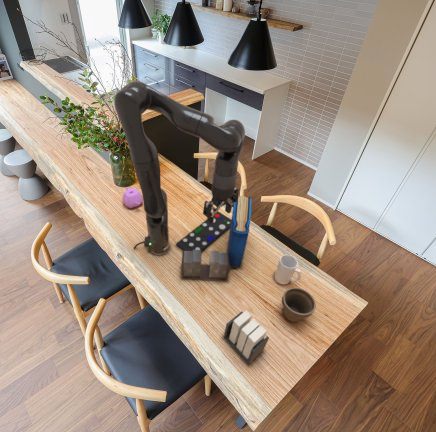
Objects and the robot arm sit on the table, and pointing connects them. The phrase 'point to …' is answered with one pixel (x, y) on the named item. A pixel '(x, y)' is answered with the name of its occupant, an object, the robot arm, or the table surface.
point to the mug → (287, 270)
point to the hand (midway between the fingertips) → (219, 217)
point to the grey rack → (205, 266)
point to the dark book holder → (248, 339)
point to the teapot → (132, 198)
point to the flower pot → (297, 304)
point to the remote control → (205, 234)
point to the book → (239, 230)
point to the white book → (239, 326)
